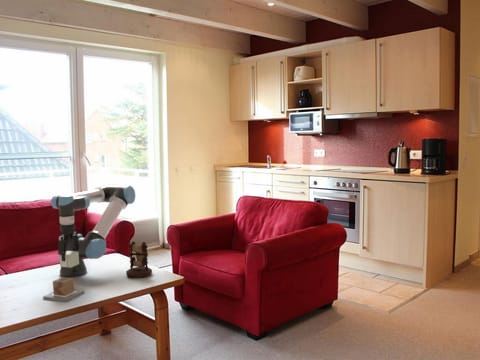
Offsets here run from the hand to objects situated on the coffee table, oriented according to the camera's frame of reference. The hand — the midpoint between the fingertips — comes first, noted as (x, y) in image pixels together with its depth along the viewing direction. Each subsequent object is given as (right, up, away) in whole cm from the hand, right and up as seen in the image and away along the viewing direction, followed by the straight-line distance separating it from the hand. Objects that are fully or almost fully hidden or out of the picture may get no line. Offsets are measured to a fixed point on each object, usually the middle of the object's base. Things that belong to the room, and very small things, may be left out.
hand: (69, 264), depth 257 cm
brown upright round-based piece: (+35, -9, +16) cm, 40 cm away
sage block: (0, 0, 0) cm, 0 cm away
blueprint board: (+4, -13, -19) cm, 23 cm away
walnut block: (+4, -11, -19) cm, 22 cm away
